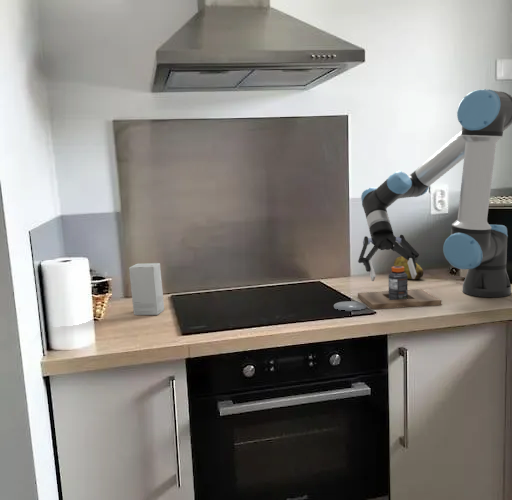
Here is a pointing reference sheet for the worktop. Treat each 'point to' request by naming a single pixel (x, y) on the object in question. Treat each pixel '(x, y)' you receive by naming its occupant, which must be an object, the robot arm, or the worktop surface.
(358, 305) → the coaster
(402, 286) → the pill bottle
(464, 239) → the robot arm
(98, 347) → the worktop surface
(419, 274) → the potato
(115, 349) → the worktop surface
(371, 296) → the pocket board
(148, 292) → the skincare box
